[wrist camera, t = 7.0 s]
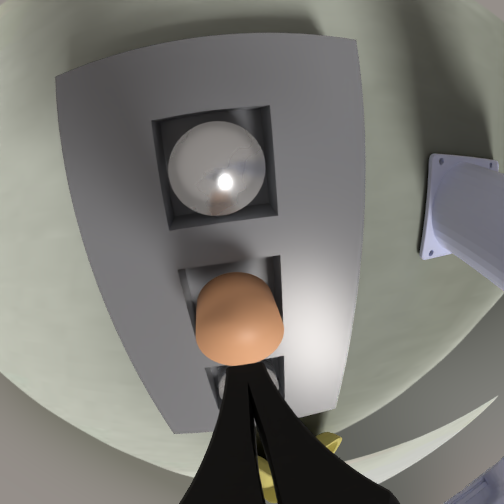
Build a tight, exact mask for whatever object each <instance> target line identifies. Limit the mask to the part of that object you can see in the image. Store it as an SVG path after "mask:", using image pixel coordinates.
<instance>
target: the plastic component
mask: <svg viewBox="0 0 504 504" xmlns="http://www.w3.org/2000/svg"><path fill="white" fill-rule="evenodd" d="M316 438H317V439H318V440H319V441H320V442H321V443H322V444H324V445H325V446H326V447H327V448H328V449H329V450H330V451H331V452H332V453H335V451H336V450H337V448H338V446H339V445H340V443H341V441H342V438H341V437H339V436H337V435H336V434H333V433H330V432H324V433H321V434H319V435H317V436H316ZM258 466H259V473H260V479H261V484H262V488H263V493H264V498H265V499H266V500H267V501H269V502H270V503H277V498H276V494H275V489H274V485H273V480H272V476H271V471H270V468H269V464H268V461H266V460H265V459H264V458H262V457H260V456H258Z"/></svg>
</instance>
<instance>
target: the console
mask: <svg viewBox="0 0 504 504" xmlns="http://www.w3.org/2000/svg"><path fill="white" fill-rule="evenodd" d="M56 99H57V112H58V122H59V131H60V139H61V146H62V152H63V158H64V164H65V170H66V175H67V180H68V185H69V189H70V194H71V198H72V203H73V207H74V211H75V215H76V218H77V222H78V226H79V229H80V233H81V236H82V240H83V243H84V246H85V250H86V253H87V256H88V259H89V262H90V265H91V268H92V271H93V273H94V276H95V279H96V282H97V285H98V287H99V290H100V292H101V295H102V298H103V300H104V303H105V305H106V307H107V310H108V312H109V315H110V317H111V319H112V322H113V324H114V326H115V328H116V331H117V333H118V335H119V337H120V339H121V341H122V344H123V346H124V348H125V350H126V352H127V354H128V356H129V358H130V360H131V362H132V364H133V366H134V368H135V369H136V371H137V373H138V375H139V377H140V379H141V381H142V382H143V384H144V386H145V388H146V390H147V391H148V393H149V395H150V397H151V398H152V400H153V402H154V403H155V405H156V407H157V408H158V410H159V411H160V413H161V415H162V416H163V418H164V419H165V421H166V423H167V424H168V426H169V427H170V429H171V430H172V432H173V433H174V434H182V433H199V432H212V431H214V428H215V425H216V422H217V419H218V415H219V411H220V407H221V402H222V399H221V398H220V395H219V385H218V372H217V366H223V364H220V363H217V362H215V361H213V360H211V359H209V358H208V357H206V356H205V355H204V354H203V353H202V351H201V350H200V349H199V347H198V345H197V342H196V307H197V298H198V295H199V293H200V291H201V290H202V288H203V287H204V286H205V285H206V284H207V283H208V282H209V281H210V280H212V279H214V278H215V277H217V276H219V275H222V274H226V273H231V272H243V273H249V274H252V275H254V276H257V277H258V278H260V279H262V280H263V281H264V282H265V283H266V284H267V285H268V287H269V288H270V290H271V292H272V294H273V297H274V300H275V302H276V305H277V308H278V310H279V313H280V316H281V319H282V321H283V325H284V335H283V339H282V341H281V343H280V345H279V346H278V348H277V349H276V350H275V351H274V352H273V353H272V354H271V355H269V356H268V357H266V358H265V359H268V358H271V359H272V362H273V366H274V370H275V373H276V377H277V380H278V384H279V389H278V391H279V392H280V394H281V395H282V397H283V398H284V400H285V401H286V402H287V404H288V405H289V406H290V408H291V409H292V410H293V412H294V413H295V414H296V416H297V417H298V418H300V417H304V416H308V415H312V414H316V413H320V412H324V411H328V410H331V409H335V408H336V405H337V400H338V396H339V392H340V388H341V383H342V379H343V374H344V370H345V365H346V360H347V355H348V350H349V344H350V338H351V333H352V327H353V320H354V314H355V307H356V300H357V292H358V284H359V275H360V265H361V255H362V242H363V228H364V209H365V127H364V108H363V95H362V83H361V74H360V65H359V57H358V49H357V42H356V40H354V39H347V38H340V37H332V36H323V35H312V34H298V33H239V34H224V35H213V36H204V37H196V38H189V39H183V40H177V41H171V42H166V43H160V44H156V45H151V46H147V47H142V48H138V49H134V50H130V51H127V52H123V53H120V54H116V55H113V56H110V57H106V58H103V59H100V60H97V61H94V62H91V63H89V64H86V65H83V66H80V67H78V68H75V69H73V70H70V71H68V72H65V73H63V74H61V75H58V76H56ZM212 121H224V122H229V123H233V124H236V125H238V126H240V127H242V128H244V129H245V130H247V131H248V132H249V133H250V134H251V135H252V136H253V137H254V138H255V139H256V140H257V142H258V143H259V145H260V147H261V149H262V151H263V155H264V158H265V177H264V181H263V184H262V186H261V188H260V190H259V192H258V194H257V195H256V196H255V198H254V199H253V200H252V201H251V202H250V203H249V204H247V205H246V206H245V207H243V208H242V209H240V210H238V211H236V212H234V213H231V214H227V215H221V216H210V215H204V214H201V213H198V212H196V211H193V210H192V209H190V208H188V207H187V206H186V205H184V204H183V203H182V202H181V201H180V200H179V199H178V197H177V196H176V194H175V193H174V191H173V189H172V187H171V184H170V180H169V174H168V164H169V159H170V155H171V152H172V150H173V148H174V146H175V144H176V143H177V141H178V140H179V139H180V138H181V137H182V136H183V135H184V134H185V133H186V132H187V131H189V130H190V129H192V128H193V127H195V126H197V125H200V124H203V123H206V122H212ZM254 421H255V419H254ZM255 426H256V422H255Z"/></svg>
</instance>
